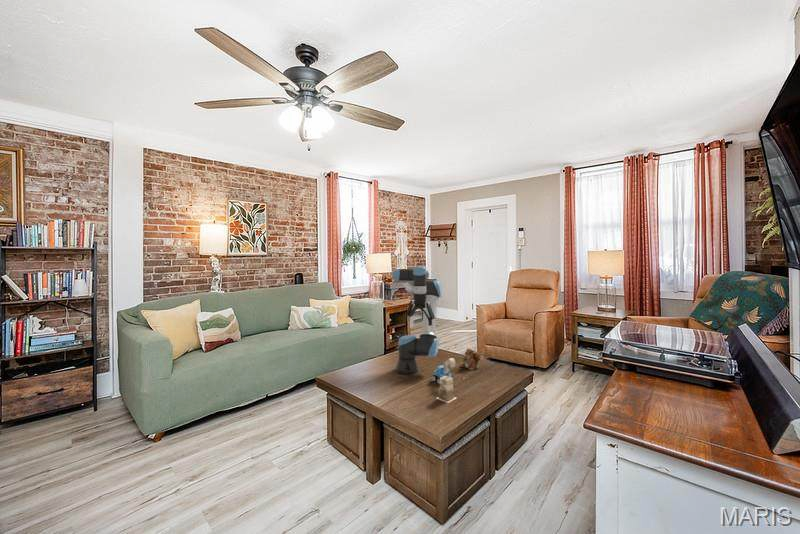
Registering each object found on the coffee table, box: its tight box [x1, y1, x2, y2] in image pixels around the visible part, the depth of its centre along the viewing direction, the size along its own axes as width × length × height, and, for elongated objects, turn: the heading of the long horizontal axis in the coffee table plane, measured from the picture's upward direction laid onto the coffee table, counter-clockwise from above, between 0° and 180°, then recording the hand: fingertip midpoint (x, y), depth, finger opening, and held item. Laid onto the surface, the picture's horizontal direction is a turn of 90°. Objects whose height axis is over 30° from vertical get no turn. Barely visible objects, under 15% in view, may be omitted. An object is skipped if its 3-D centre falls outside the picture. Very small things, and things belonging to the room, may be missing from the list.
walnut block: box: [438, 388, 455, 403], centre depth 179 cm, size 6×6×5 cm
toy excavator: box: [431, 357, 456, 385], centre depth 200 cm, size 9×17×17 cm, turn 28°
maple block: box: [439, 376, 454, 392], centre depth 178 cm, size 5×5×6 cm
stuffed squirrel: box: [459, 347, 482, 371], centre depth 229 cm, size 10×14×13 cm
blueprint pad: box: [436, 396, 457, 404], centre depth 182 cm, size 16×14×1 cm
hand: (420, 329), depth 194 cm, fingers open, 13 cm apart
